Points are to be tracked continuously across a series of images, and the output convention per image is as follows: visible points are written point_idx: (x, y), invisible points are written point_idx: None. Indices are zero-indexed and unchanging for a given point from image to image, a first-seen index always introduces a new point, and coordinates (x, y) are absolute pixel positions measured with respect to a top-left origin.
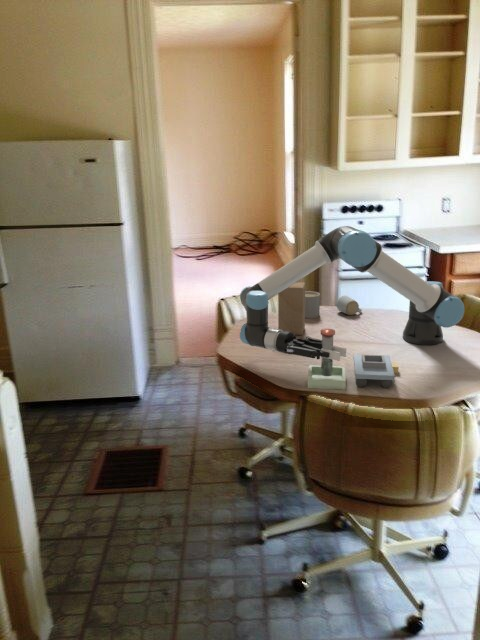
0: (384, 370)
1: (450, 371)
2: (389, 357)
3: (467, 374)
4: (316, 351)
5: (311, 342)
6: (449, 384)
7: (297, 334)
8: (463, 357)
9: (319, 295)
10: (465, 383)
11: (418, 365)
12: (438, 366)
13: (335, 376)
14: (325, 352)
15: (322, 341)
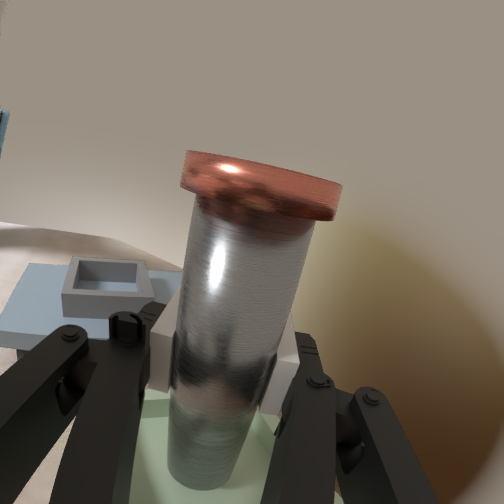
0: (156, 282)
1: (60, 244)
2: (46, 264)
3: (74, 236)
4: (335, 397)
5: (105, 497)
6: (120, 253)
7: None
8: (6, 228)
9: None
10: (113, 242)
11: (23, 265)
12: (34, 249)
13: (154, 442)
14: (302, 347)
15: (288, 298)
